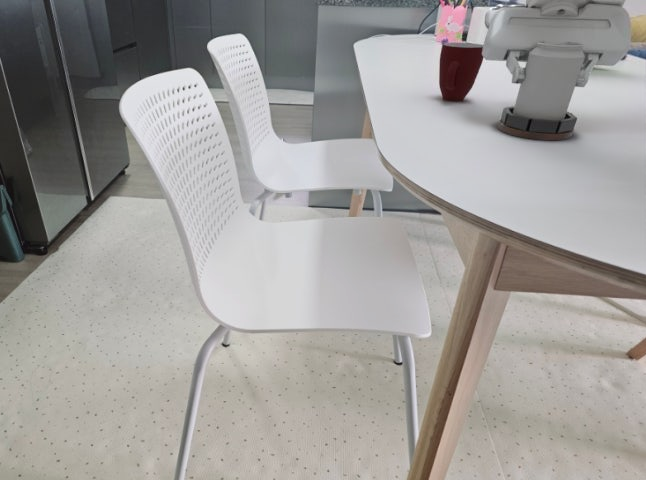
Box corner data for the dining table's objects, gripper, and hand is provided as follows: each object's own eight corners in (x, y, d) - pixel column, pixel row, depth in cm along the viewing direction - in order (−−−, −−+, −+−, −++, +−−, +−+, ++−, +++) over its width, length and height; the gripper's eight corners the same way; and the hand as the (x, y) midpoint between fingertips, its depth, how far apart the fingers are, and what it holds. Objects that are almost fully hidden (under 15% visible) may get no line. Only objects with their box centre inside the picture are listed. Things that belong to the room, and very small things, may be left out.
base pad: (563, 124, 79) (568, 107, 78) (580, 143, 70) (586, 124, 69) (494, 119, 81) (498, 103, 80) (501, 137, 73) (506, 118, 71)
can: (506, 117, 79) (527, 38, 72) (553, 119, 78) (579, 39, 71) (515, 129, 73) (540, 43, 66) (567, 132, 72) (597, 45, 65)
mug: (470, 107, 89) (483, 50, 84) (427, 103, 92) (437, 47, 87) (475, 97, 97) (487, 44, 92) (435, 93, 100) (445, 41, 95)
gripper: (491, -11, 73) (482, 65, 71) (639, -9, 69) (634, 73, 66) (482, 19, 79) (472, 91, 77) (617, 23, 75) (612, 99, 72)
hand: (549, 82), depth 71 cm, fingers closed on can, 7 cm apart
